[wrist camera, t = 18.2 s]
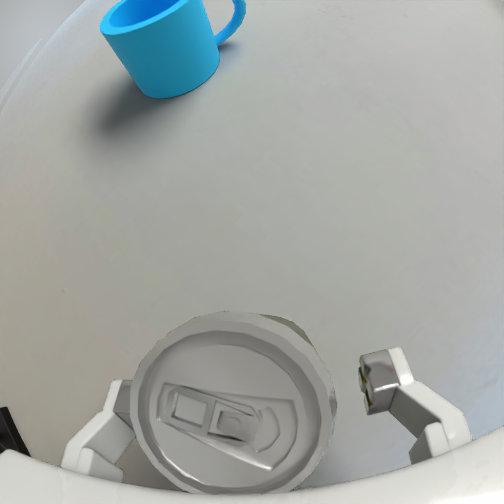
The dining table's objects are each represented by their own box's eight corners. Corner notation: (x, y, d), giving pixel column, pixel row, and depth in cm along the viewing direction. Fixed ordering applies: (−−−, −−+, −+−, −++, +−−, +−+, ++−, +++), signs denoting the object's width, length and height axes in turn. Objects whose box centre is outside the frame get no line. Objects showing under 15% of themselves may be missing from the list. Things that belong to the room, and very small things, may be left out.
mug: (152, 113, 23) (107, 49, 15) (130, 69, 25) (94, 15, 17) (273, 52, 23) (262, -21, 15) (232, 17, 25) (216, -42, 17)
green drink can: (217, 388, 18) (112, 465, 6) (237, 306, 19) (145, 284, 7) (301, 409, 17) (302, 528, 5) (323, 326, 18) (370, 337, 6)
